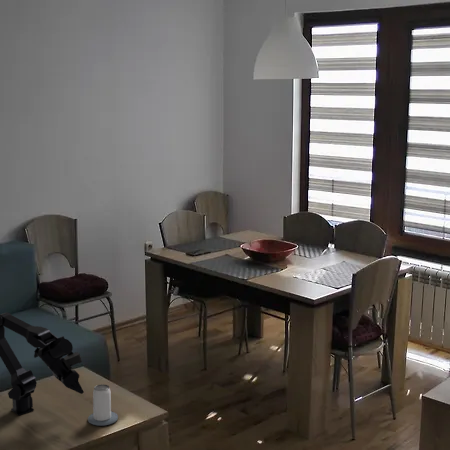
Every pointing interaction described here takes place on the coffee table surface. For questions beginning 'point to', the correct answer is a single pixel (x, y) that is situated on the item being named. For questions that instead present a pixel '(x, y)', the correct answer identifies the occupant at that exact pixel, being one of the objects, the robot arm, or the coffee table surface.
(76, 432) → the coffee table surface
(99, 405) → the can
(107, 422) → the dish
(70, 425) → the coffee table surface
